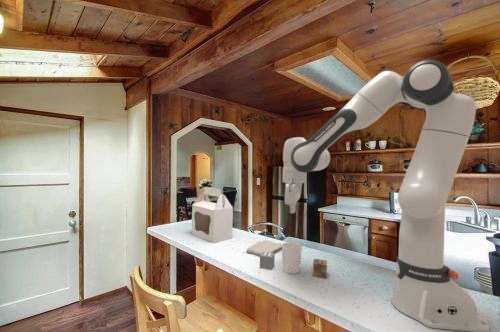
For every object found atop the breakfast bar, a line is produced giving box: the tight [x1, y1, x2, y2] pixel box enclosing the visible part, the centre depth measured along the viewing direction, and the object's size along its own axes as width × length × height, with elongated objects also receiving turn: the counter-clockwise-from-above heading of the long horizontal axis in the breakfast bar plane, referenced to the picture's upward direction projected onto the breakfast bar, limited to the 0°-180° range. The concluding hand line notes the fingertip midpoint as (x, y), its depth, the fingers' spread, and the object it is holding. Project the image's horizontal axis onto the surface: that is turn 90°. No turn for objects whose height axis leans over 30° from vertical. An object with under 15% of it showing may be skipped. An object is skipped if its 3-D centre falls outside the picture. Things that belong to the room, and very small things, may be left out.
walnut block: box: [312, 258, 328, 279], centre depth 95 cm, size 5×5×5 cm
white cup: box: [281, 241, 303, 275], centre depth 98 cm, size 8×8×10 cm
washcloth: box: [245, 239, 283, 257], centre depth 120 cm, size 12×18×3 cm, turn 146°
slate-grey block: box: [259, 252, 276, 271], centre depth 101 cm, size 5×5×5 cm
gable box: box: [191, 186, 234, 244], centre depth 141 cm, size 22×13×28 cm, turn 44°
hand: (292, 212), depth 98 cm, fingers closed
